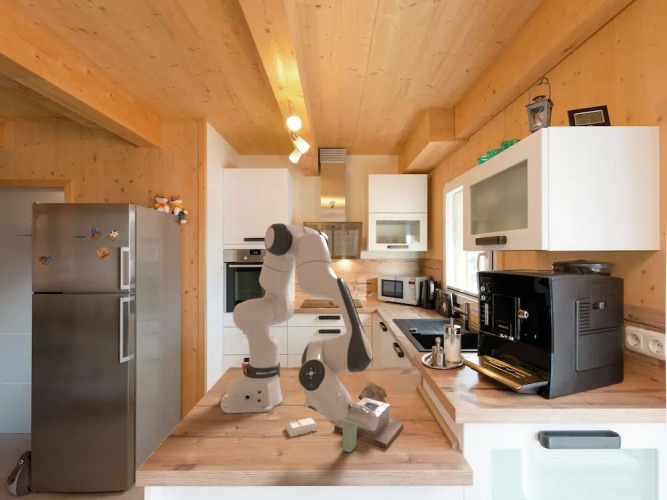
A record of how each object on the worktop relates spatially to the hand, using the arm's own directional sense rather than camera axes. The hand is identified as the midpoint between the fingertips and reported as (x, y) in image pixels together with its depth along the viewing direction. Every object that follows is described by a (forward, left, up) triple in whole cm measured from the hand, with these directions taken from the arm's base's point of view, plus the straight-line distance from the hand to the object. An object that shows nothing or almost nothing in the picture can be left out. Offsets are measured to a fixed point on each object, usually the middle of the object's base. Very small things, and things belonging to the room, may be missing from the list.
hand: (351, 421), depth 98 cm
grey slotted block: (+10, +8, -6) cm, 14 cm away
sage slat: (0, 0, -7) cm, 7 cm away
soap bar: (-11, +14, -8) cm, 20 cm away
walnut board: (+10, +8, -8) cm, 15 cm away
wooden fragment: (+22, +29, -8) cm, 38 cm away
